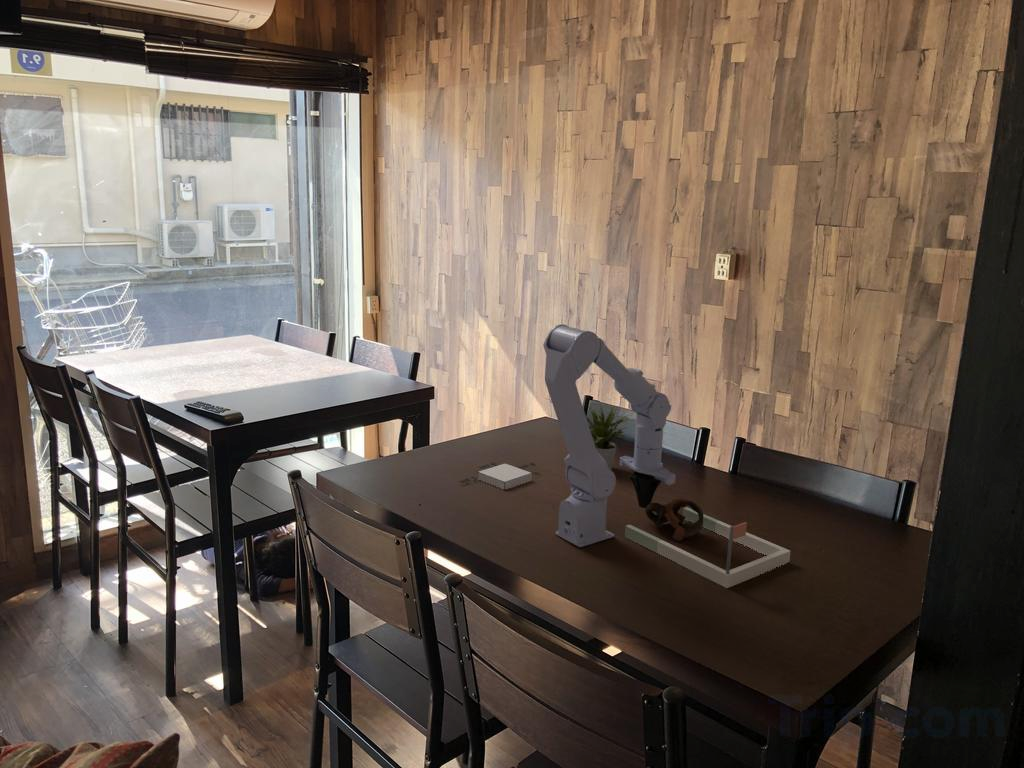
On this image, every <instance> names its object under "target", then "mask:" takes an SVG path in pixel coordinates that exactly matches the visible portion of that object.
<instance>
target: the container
mask: <svg viewBox="0 0 1024 768" xmlns="http://www.w3.org/2000/svg"><path fill="white" fill-rule="evenodd" d="M490 465H492V466H491V467H490ZM530 466H533V467H535V466H536V463H534V462H530V463H529V464H523V465H521V466H518V467H516V466H514V465H511V464H508V463H502V464H499V465H498V464H497V462H496V463H495V462H490V464H485V465H481V466H478V468H479V469H482V470H479V471H477V472H476V473H477V474H476V477H475V476H471V477H470V478H469V477H468V478H465V479H461V480H459V483H463V484H464V483H467V482H470V481H471V479H473V480H477V479H478V481H479V480H481V481H480V482H482V481H483V482H482V483H485V482H486V483H485V484H487V483H489V484H488V485H490V484H491V485H490V486H493V485H494V486H493V487H495V486H496V487H495V488H498V487H499V488H498V489H500V488H501V489H500V490H503V489H504V490H503V491H506V490H509V489H512V488H515V487H518V486H521V485H524V484H527V483H530V482H532V481H533V472H530V471H528V470H526V468H528V467H530ZM485 468H486V469H485ZM529 481H530V482H529ZM526 482H527V483H526ZM523 483H524V484H523ZM520 484H521V485H520ZM517 485H518V486H517ZM508 488H509V489H508ZM505 489H506V490H505Z"/></svg>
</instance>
